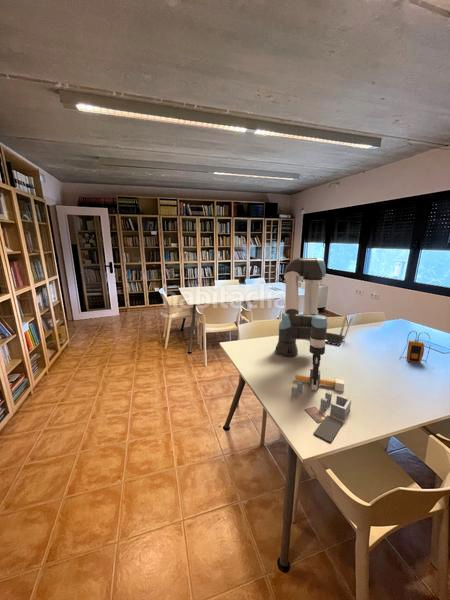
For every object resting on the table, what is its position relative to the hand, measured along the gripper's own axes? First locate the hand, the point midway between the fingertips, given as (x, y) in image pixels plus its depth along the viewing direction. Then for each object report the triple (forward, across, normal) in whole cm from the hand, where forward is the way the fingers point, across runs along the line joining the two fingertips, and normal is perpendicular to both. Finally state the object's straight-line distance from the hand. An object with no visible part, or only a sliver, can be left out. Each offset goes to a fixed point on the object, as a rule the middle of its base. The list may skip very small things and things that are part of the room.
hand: (314, 383), depth 131 cm
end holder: (0, -20, -11) cm, 23 cm away
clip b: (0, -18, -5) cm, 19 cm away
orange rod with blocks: (0, 0, -2) cm, 2 cm away
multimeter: (0, +53, -59) cm, 79 cm away
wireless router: (0, +74, -8) cm, 74 cm away
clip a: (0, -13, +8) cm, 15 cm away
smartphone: (+1, -33, -6) cm, 34 cm away
